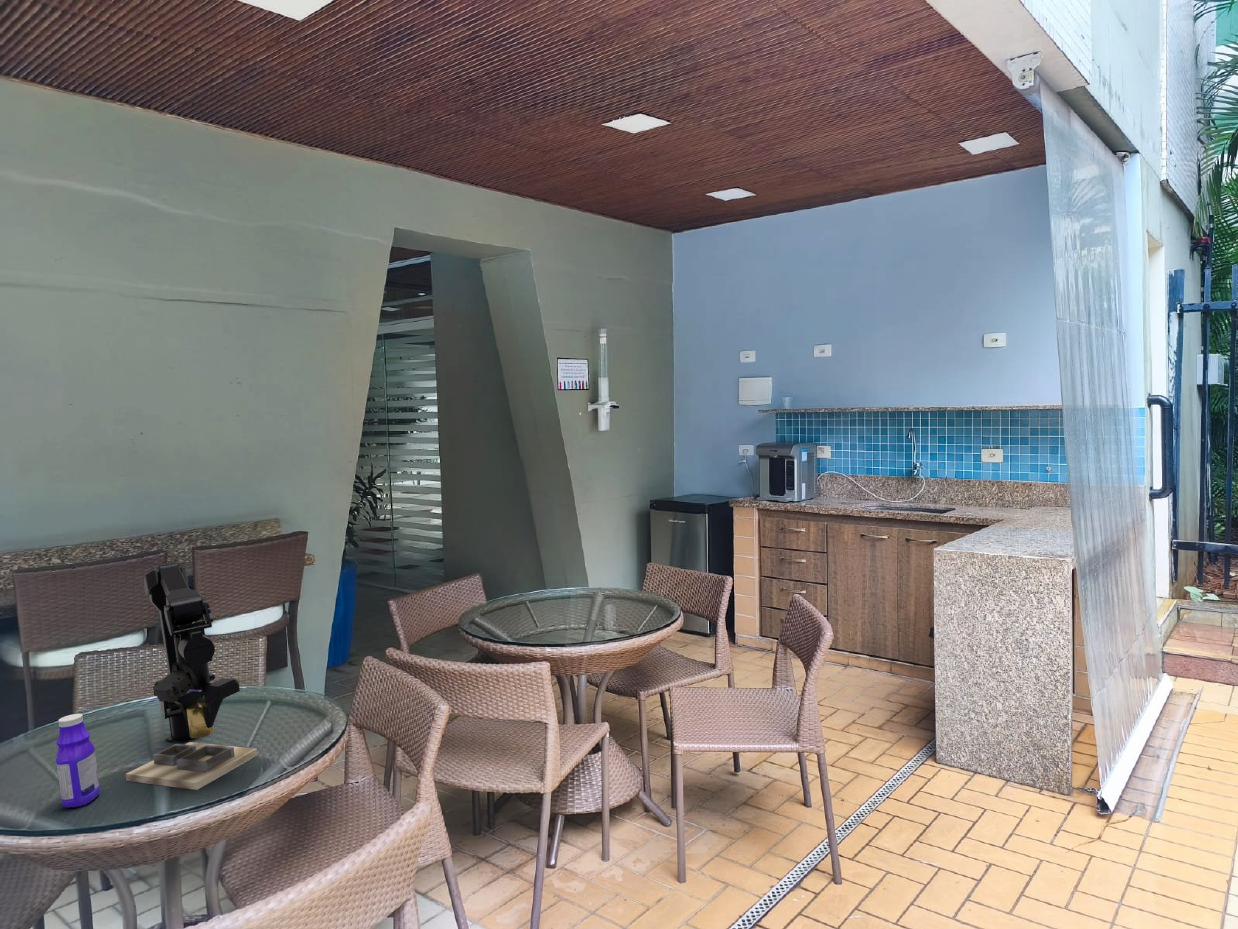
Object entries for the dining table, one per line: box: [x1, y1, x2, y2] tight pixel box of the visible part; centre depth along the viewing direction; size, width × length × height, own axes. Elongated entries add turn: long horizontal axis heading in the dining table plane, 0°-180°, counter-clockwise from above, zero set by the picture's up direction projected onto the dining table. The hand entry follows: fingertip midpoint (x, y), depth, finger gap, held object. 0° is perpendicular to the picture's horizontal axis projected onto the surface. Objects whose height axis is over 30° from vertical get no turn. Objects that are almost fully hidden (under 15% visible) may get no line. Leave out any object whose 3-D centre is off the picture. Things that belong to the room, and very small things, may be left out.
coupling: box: [187, 703, 215, 739], centre depth 177 cm, size 5×5×6 cm
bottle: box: [55, 713, 101, 809], centre depth 167 cm, size 7×6×17 cm
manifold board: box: [125, 741, 258, 791], centre depth 179 cm, size 20×16×4 cm
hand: (201, 726), depth 177 cm, fingers closed on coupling, 5 cm apart
